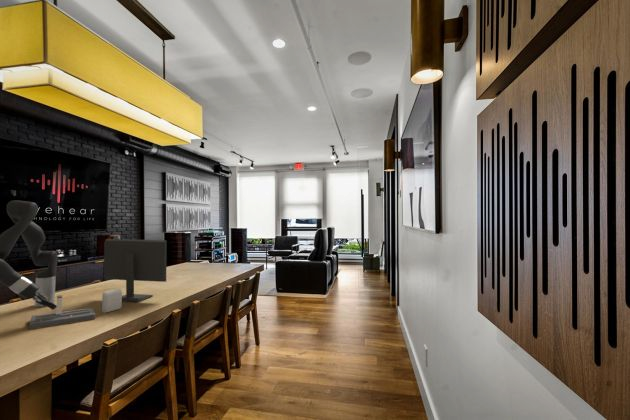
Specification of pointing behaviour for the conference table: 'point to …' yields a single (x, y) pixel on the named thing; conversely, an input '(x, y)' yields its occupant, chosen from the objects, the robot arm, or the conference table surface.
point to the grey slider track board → (61, 318)
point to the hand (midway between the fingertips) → (55, 308)
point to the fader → (59, 305)
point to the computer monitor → (135, 263)
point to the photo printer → (111, 300)
